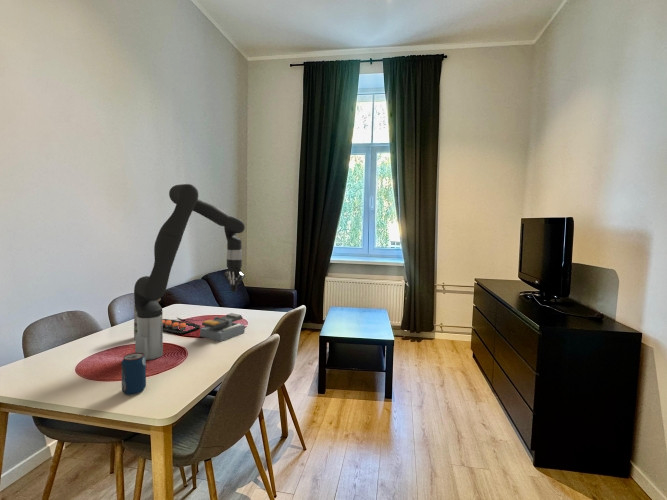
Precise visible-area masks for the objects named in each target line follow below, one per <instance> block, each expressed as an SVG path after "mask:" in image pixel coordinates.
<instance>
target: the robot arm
mask: <svg viewBox="0 0 667 500" xmlns="http://www.w3.org/2000/svg"><path fill="white" fill-rule="evenodd" d="M168 196H169V199H170V200H171V202H172V203H173V204H175V208H174V209H173V211H172V213H171V215H170V216H169V217H168V219H167V220H166V221H165V222H164V223H163V224H162V226H161V227H160V229H159V231H158V234H157V236H156V239H155V242H154V249H153V252H154V253H153V254H154V255H153V257H154V263H153V267H152V270H151V271H150V275H144V276H142V277H139V278H138V279H137V281H136V282H135V283H134V287H133V297H134V299H133V300H134V305H135V309H136V311H137V335H135V337H134V345H135V346H134V348H135V349H134V350H135V352H134V353H143V354H144V357H145V359H146V361H148V360H154V359H155V360H156V359H158V358H161V357H162V356H163V355H164V350H163V349H164V345H163V343H164V342H163V341H164V339H163V338H164V335H163V332H164V331H163V319H164V318H163V308H162V306H161V305H160V303H159V301H158V300H160V299H161V298H162V297H163V296H164V295H165V293H166V290H167V287H168V283H169V279H170V274H171V270H172V267H173V265H174V261H175V258H176V257H177V256H176V255H177V253H178V251H179V248H180V245H181V242H182V239H183V237H184V234H185V231H186V228H187V225H188V222H189V220H190V217H191V215H192V213H193V212H195V213H196V214H199V215H200V216H203V218H206V219H208V220H210V221H212V222H213V223H215V224H216V225H218V226H220V227H223V229H224V233H225V234H224V235H225V238H226V241H227V243H226V244H227V245H226V268H227V269H226V272H224V273H223V276H224V278H225V279H226V281H227V283H229V284H230V290H231V292H233V293H235V292H237V290H238V285H239V284H241V283H242V281H243V280H244V278H245V275H246V274H243V273H242V270H241V269H242V267H243V254H242V253H243V252H242V239H241V238H240V237H237V235H238V234H242V233H244V230H245V228H246V227H245V223H244V221H243V220H242V219H240V218H238V217H235V216H234V215H230V214H229V213H227V212H225V211H224V210H222V209H221V208H220V207H218V206H215V205H213V204H211V203H208V202H205V201H203V200H201V199H199V190H198V189H197V187H196V186H195V185H193V184H190V183H185V184H184V183H182V184H176V185H173V186H171V188H170V189H169V192H168Z"/></svg>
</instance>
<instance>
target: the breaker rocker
mask: <svg viewBox="0 0 667 500" xmlns="http://www.w3.org/2000/svg"><path fill="white" fill-rule="evenodd" d="M230 319H231V320H232V322H233V323H235V322H236V321H240V320H243V316H242V314H237V313H233V312H230V313H227V314H226V315H225V316H224V315H223V316H221V317H218V318H216V319H214V318H213V319H209V320H202V323H201V326H204V327H205V326H207V327H211V328H216V327H219V326H222V325H225V324H228V320H230Z"/></svg>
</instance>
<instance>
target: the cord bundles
mask: <svg viewBox="0 0 667 500" xmlns="http://www.w3.org/2000/svg"><path fill="white" fill-rule="evenodd" d="M238 326H241V323H237V325H234V326H231V327H228V328H225V329H222V331H223V332H224V331H227V330H230V329H232V328H235V327H238ZM204 327H207V326H204Z"/></svg>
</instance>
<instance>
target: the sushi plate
mask: <svg viewBox="0 0 667 500" xmlns="http://www.w3.org/2000/svg"><path fill="white" fill-rule="evenodd" d="M162 319H163V332H164V331H165V332H169V333H175V334H186V333H189V332H192V331H194V330H197V329H199V328H202V327H201V326H202V325H200V324H196V323H194V322H191V321H194V320H193V318H192V319H189V318H188V319H183V318H180V317H177V320H176V319H168V318H162ZM182 320H184V321H182ZM179 324H180V325H179ZM186 325H188V326H193V327H195V328H194V329H191V330H188V331H183V330H185V328H186ZM178 326H179V329H180V330H179V329H178Z"/></svg>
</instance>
